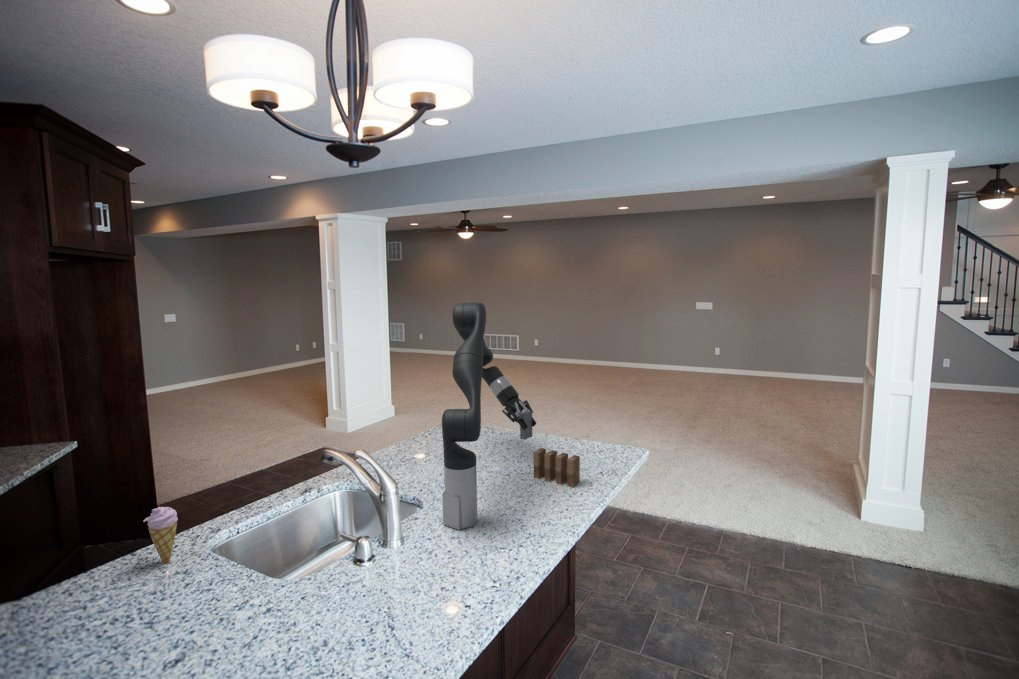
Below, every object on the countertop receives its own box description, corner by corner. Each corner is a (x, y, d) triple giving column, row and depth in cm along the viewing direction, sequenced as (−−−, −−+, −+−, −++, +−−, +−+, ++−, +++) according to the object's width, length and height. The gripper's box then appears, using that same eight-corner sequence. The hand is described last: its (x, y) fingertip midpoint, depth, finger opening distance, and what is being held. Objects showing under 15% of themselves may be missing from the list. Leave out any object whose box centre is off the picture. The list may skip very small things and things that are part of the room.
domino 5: (572, 487, 171) (572, 460, 170) (567, 486, 173) (567, 459, 172) (579, 483, 175) (579, 456, 174) (574, 481, 177) (574, 455, 176)
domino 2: (538, 479, 179) (538, 452, 178) (533, 477, 181) (533, 451, 179) (546, 474, 183) (546, 448, 182) (541, 473, 185) (541, 447, 183)
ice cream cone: (144, 570, 125) (138, 512, 123) (154, 557, 131) (149, 501, 129) (175, 566, 126) (170, 508, 125) (184, 553, 132) (179, 498, 131)
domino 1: (524, 439, 187) (524, 414, 186) (520, 438, 188) (520, 413, 187) (532, 436, 191) (532, 411, 190) (527, 435, 192) (527, 410, 191)
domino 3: (549, 481, 177) (549, 455, 176) (544, 480, 178) (544, 454, 177) (557, 477, 181) (557, 451, 180) (552, 476, 182) (552, 450, 181)
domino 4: (560, 484, 174) (560, 457, 173) (555, 483, 175) (555, 456, 174) (568, 480, 178) (568, 453, 177) (563, 478, 179) (563, 452, 178)
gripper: (498, 388, 186) (525, 425, 181) (520, 381, 198) (547, 416, 192) (486, 400, 190) (513, 437, 184) (509, 393, 202) (535, 428, 196)
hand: (530, 426), depth 188 cm, fingers closed on domino 1, 5 cm apart
